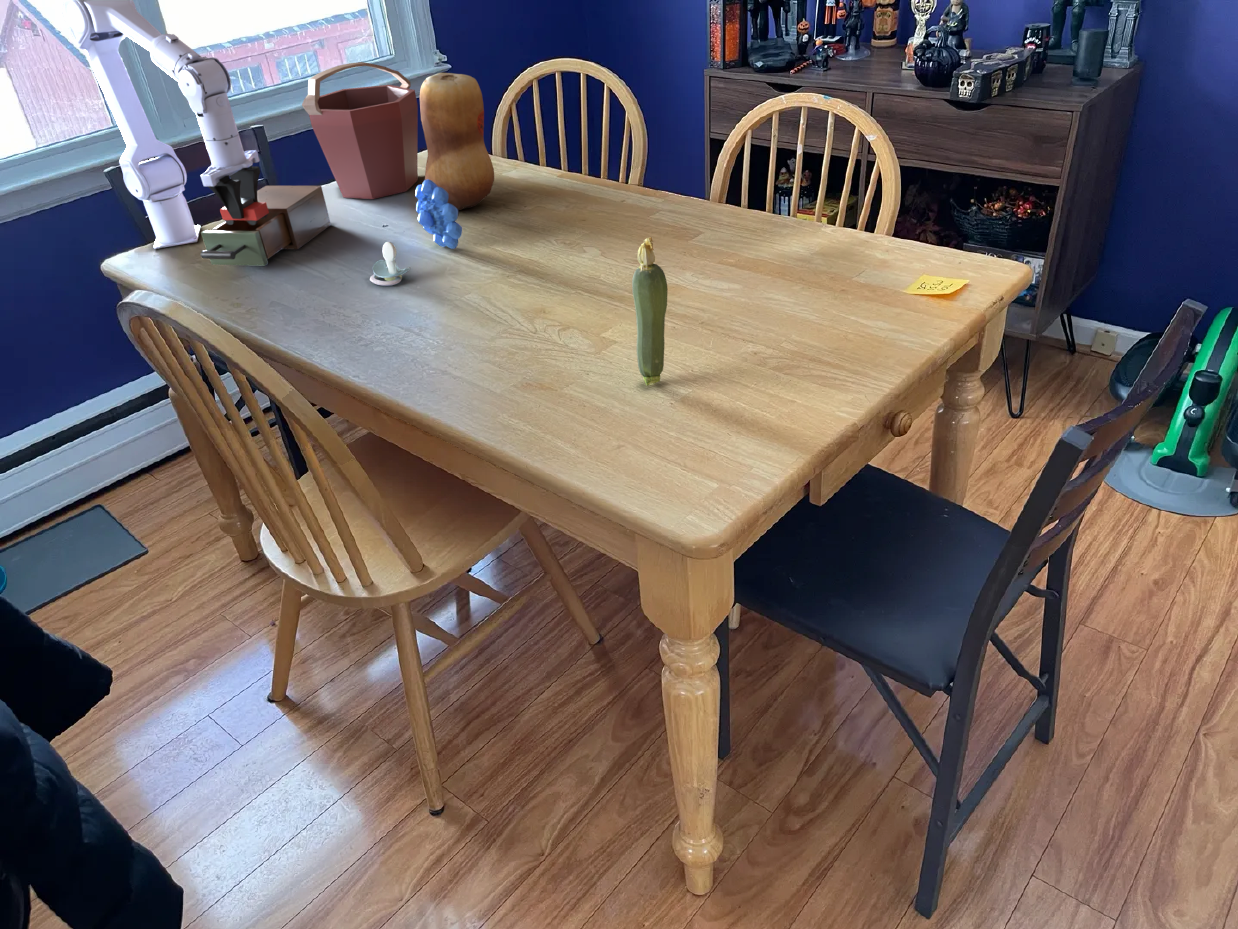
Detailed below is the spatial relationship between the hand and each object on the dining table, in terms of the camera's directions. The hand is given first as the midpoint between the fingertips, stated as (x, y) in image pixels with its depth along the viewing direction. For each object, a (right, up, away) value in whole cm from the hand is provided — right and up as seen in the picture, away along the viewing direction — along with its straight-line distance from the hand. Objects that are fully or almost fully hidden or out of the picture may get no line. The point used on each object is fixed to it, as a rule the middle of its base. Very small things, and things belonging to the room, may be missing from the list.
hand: (245, 213), depth 166 cm
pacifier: (+28, -14, -9) cm, 33 cm away
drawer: (0, -7, +2) cm, 8 cm away
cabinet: (+3, -1, +13) cm, 13 cm away
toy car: (0, -1, +1) cm, 1 cm away
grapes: (+35, -6, +2) cm, 35 cm away
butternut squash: (+36, +7, +20) cm, 42 cm away
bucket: (+14, +16, +36) cm, 42 cm away
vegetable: (+72, -34, -45) cm, 92 cm away
